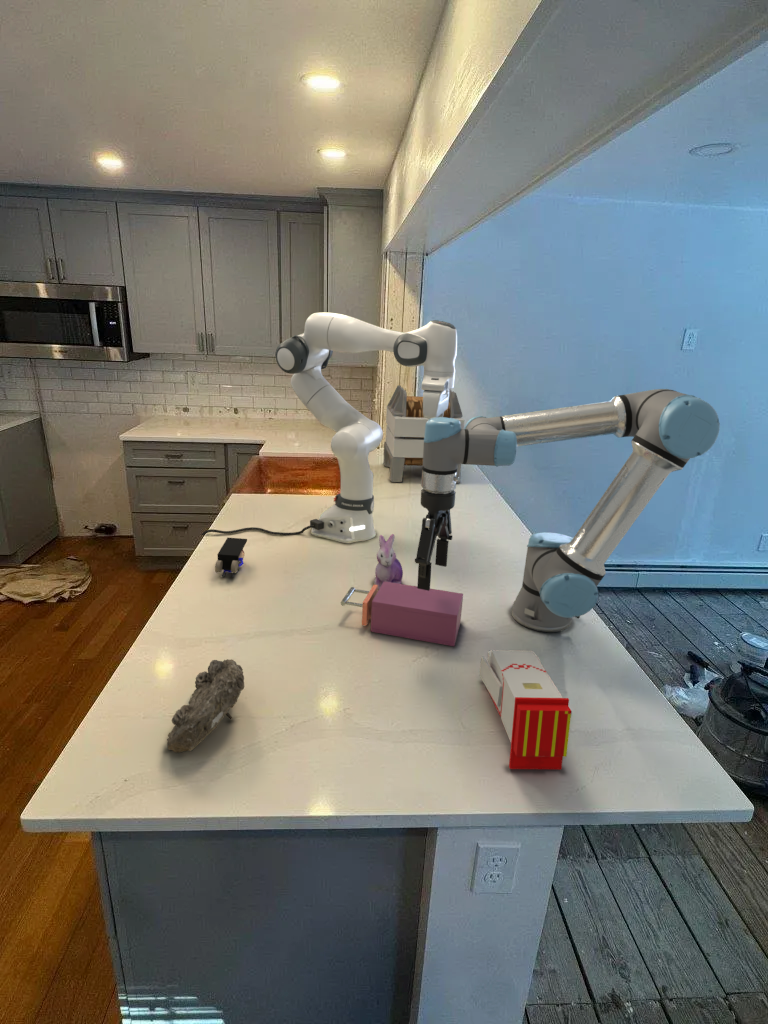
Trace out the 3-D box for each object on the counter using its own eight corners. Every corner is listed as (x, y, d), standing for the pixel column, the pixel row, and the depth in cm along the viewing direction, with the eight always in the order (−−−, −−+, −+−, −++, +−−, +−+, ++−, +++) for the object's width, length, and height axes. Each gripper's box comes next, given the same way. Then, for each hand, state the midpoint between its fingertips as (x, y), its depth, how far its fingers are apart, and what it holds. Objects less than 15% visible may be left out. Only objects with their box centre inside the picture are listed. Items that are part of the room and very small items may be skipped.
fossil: (192, 660, 117) (244, 628, 112) (224, 691, 120) (276, 661, 115) (142, 746, 98) (202, 712, 93) (182, 779, 101) (242, 748, 96)
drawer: (338, 621, 141) (339, 598, 139) (351, 602, 150) (351, 580, 148) (438, 638, 135) (440, 615, 133) (445, 618, 145) (447, 595, 142)
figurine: (381, 594, 157) (383, 544, 152) (365, 579, 165) (367, 531, 160) (411, 588, 161) (414, 539, 156) (393, 573, 169) (396, 527, 164)
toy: (530, 632, 124) (581, 706, 94) (525, 688, 126) (573, 777, 97) (475, 631, 123) (509, 705, 94) (471, 687, 126) (503, 777, 96)
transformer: (382, 463, 289) (386, 382, 275) (445, 464, 293) (451, 384, 279) (390, 482, 257) (394, 392, 243) (460, 483, 261) (468, 394, 247)
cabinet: (370, 631, 139) (371, 601, 136) (382, 609, 149) (383, 581, 146) (454, 646, 134) (457, 615, 131) (460, 622, 145) (463, 593, 142)
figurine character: (238, 584, 162) (249, 557, 175) (236, 562, 158) (247, 536, 172) (215, 584, 161) (227, 556, 175) (212, 561, 158) (225, 535, 171)
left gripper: (434, 376, 171) (431, 422, 176) (420, 384, 153) (416, 434, 157) (455, 378, 170) (451, 424, 174) (443, 386, 151) (439, 437, 156)
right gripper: (438, 508, 112) (432, 603, 119) (468, 477, 134) (461, 559, 141) (403, 503, 115) (398, 596, 122) (438, 473, 136) (432, 553, 144)
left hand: (435, 429), depth 166 cm, fingers open, 8 cm apart
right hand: (432, 576), depth 131 cm, fingers open, 13 cm apart
